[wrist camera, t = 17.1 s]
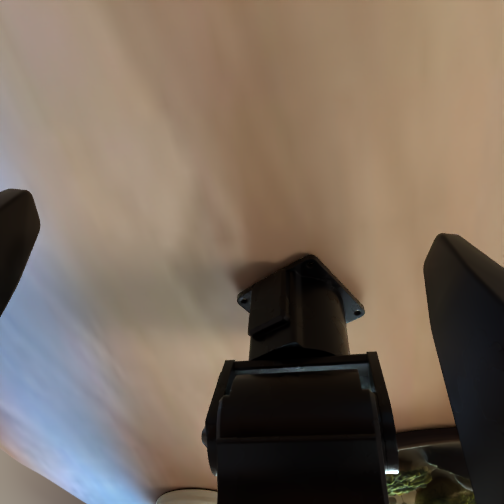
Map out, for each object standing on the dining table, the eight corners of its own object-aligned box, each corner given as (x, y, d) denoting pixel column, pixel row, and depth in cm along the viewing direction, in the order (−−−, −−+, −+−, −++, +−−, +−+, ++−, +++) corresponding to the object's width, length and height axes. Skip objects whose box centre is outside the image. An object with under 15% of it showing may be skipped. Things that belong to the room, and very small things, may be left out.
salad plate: (532, 501, 48) (551, 549, 44) (372, 511, 53) (378, 555, 49) (541, 414, 37) (569, 470, 33) (337, 437, 41) (342, 487, 38)
